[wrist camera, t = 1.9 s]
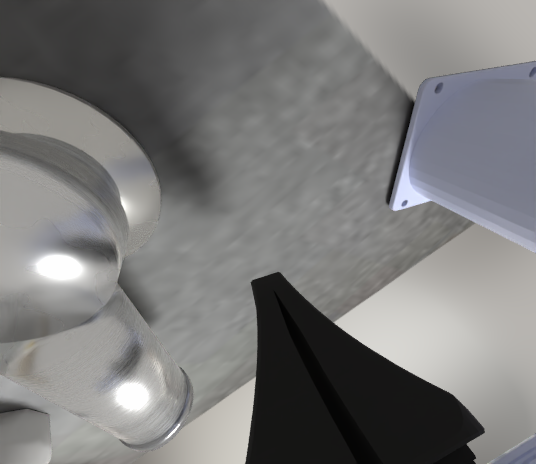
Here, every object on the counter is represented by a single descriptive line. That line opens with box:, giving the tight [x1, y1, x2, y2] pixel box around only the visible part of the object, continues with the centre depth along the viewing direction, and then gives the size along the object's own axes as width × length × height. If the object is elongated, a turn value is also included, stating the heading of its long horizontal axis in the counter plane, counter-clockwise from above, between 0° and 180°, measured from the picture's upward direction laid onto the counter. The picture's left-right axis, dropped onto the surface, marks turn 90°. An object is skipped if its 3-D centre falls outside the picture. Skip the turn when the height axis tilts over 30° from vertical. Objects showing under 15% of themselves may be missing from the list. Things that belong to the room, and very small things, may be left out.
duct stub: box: [0, 77, 161, 258], centre depth 8 cm, size 9×8×4 cm
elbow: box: [0, 130, 193, 452], centre depth 9 cm, size 15×6×4 cm, turn 6°
